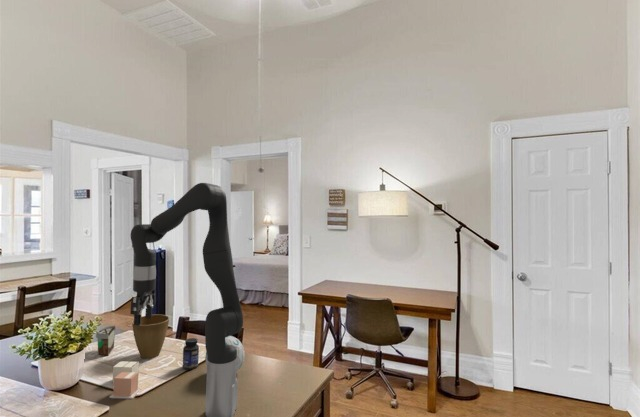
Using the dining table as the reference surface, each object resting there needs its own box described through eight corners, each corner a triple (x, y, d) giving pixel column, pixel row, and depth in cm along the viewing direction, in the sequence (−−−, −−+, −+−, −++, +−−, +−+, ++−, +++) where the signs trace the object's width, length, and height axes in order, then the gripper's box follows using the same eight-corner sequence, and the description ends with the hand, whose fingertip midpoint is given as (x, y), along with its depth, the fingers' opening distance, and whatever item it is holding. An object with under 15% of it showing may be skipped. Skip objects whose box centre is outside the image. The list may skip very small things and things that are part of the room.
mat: (141, 389, 123) (141, 388, 123) (132, 398, 117) (132, 397, 117) (119, 389, 123) (119, 388, 123) (109, 398, 117) (109, 396, 117)
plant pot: (132, 351, 157) (134, 316, 157) (168, 347, 162) (169, 313, 163) (128, 364, 143) (130, 326, 143) (167, 359, 149) (168, 322, 149)
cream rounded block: (138, 377, 132) (138, 361, 132) (131, 383, 127) (132, 367, 127) (120, 377, 132) (120, 361, 132) (112, 383, 127) (113, 366, 127)
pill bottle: (192, 370, 139) (193, 343, 139) (179, 369, 140) (180, 341, 140) (201, 364, 145) (202, 338, 145) (188, 362, 146) (189, 336, 146)
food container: (99, 347, 160) (100, 326, 160) (114, 346, 162) (115, 325, 162) (90, 358, 148) (91, 335, 148) (107, 357, 150) (108, 334, 150)
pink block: (137, 389, 122) (138, 372, 122) (130, 396, 118) (131, 378, 118) (121, 389, 122) (121, 371, 122) (113, 395, 118) (114, 377, 118)
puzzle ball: (196, 377, 134) (197, 338, 134) (225, 363, 147) (226, 327, 147) (224, 387, 126) (225, 346, 126) (252, 372, 139) (253, 334, 139)
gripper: (145, 281, 121) (144, 327, 121) (163, 274, 136) (161, 316, 135) (124, 281, 121) (122, 327, 121) (144, 274, 135) (142, 315, 135)
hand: (143, 321), depth 128 cm, fingers open, 8 cm apart
